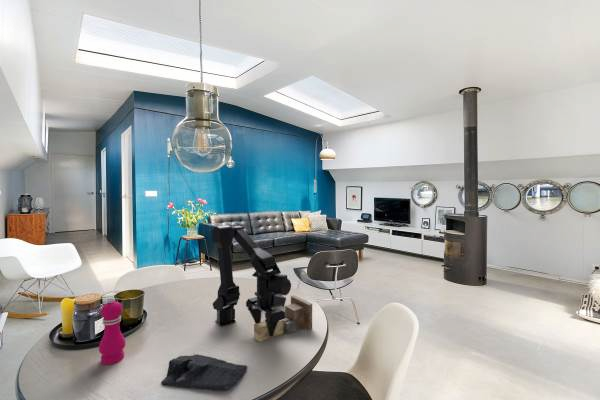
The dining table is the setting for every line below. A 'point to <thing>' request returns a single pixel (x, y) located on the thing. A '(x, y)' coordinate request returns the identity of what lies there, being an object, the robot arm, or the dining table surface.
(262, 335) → the tan oblong piece
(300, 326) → the brown boxy piece
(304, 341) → the dining table surface
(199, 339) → the dining table surface
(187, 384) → the dark slate chunk
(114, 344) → the pepper mill
